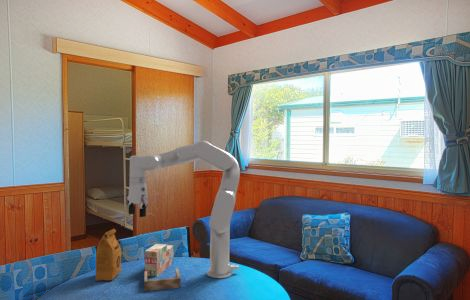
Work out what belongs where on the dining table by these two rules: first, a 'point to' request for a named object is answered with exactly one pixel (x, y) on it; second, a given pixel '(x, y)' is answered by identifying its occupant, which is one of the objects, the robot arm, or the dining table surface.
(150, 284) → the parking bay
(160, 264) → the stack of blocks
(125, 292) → the dining table surface
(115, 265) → the coffee package
